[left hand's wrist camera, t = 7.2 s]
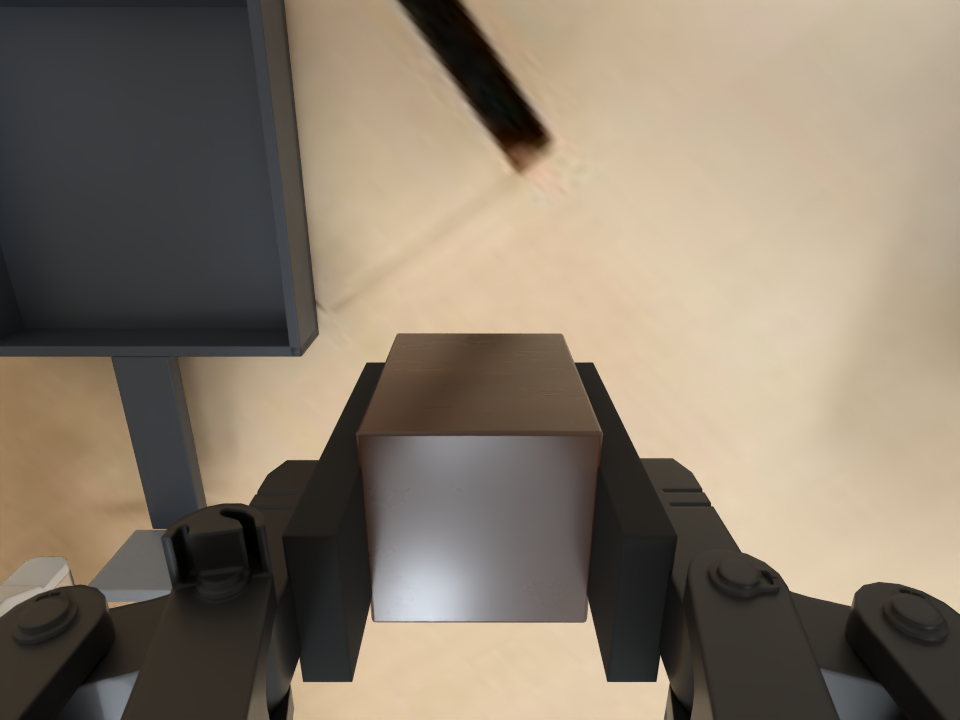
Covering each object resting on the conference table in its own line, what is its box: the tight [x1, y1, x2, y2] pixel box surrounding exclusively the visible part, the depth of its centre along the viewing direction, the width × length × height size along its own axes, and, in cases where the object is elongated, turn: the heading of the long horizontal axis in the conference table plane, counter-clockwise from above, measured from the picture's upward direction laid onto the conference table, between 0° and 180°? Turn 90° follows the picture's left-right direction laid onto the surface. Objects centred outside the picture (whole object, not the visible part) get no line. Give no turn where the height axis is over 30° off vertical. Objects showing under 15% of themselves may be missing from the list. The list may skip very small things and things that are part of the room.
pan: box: [0, 0, 319, 602], centre depth 30 cm, size 17×29×9 cm, turn 0°
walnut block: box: [356, 333, 603, 623], centre depth 13 cm, size 4×4×5 cm
